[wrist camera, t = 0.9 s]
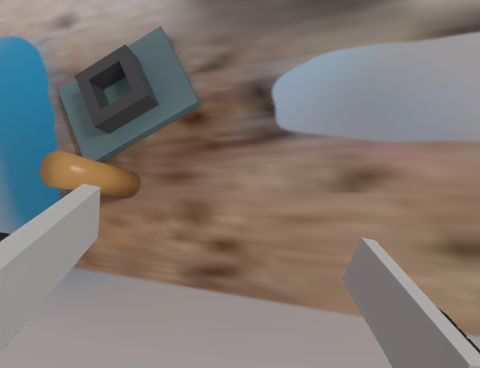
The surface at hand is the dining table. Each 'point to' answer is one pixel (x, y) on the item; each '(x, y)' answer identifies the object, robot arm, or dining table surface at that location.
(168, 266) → the dining table surface
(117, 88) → the dock
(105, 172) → the cylinder
